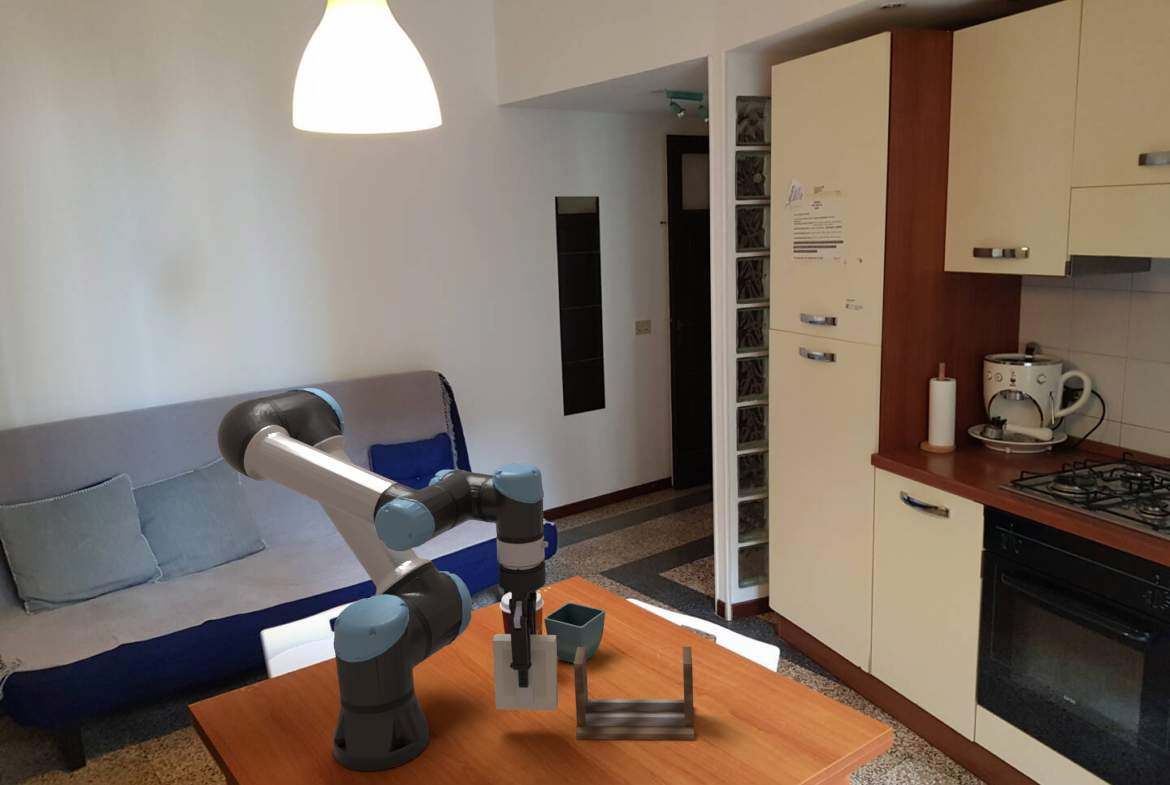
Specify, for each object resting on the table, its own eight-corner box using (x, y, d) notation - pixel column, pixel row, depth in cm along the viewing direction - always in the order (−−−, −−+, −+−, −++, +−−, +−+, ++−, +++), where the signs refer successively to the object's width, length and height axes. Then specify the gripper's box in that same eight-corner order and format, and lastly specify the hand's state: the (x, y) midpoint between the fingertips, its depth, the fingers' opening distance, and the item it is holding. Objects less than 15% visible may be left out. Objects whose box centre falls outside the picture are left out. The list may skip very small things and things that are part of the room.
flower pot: (608, 653, 173) (606, 609, 171) (583, 672, 166) (581, 627, 164) (570, 643, 178) (568, 601, 176) (545, 662, 170) (542, 618, 169)
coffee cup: (541, 685, 162) (537, 607, 159) (498, 682, 163) (493, 605, 161) (552, 663, 170) (548, 588, 167) (511, 660, 172) (506, 587, 169)
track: (576, 738, 144) (572, 669, 142) (581, 706, 154) (578, 641, 152) (694, 739, 142) (692, 670, 140) (692, 707, 152) (690, 641, 150)
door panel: (495, 709, 145) (492, 641, 143) (498, 701, 148) (495, 633, 146) (556, 711, 145) (554, 642, 142) (558, 702, 147) (556, 635, 145)
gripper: (538, 581, 134) (543, 724, 138) (550, 544, 149) (555, 674, 153) (488, 580, 134) (495, 723, 139) (506, 543, 149) (511, 673, 154)
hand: (526, 697), depth 146 cm, fingers closed on door panel, 2 cm apart
